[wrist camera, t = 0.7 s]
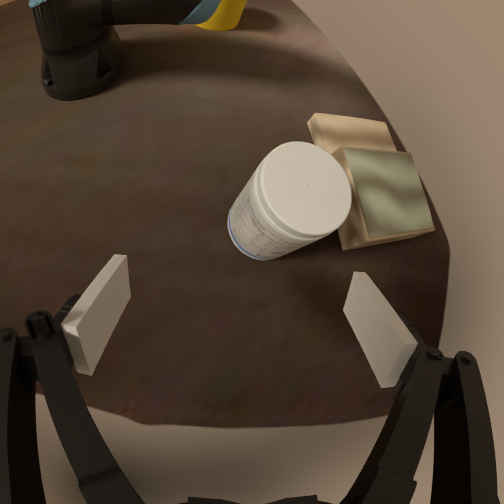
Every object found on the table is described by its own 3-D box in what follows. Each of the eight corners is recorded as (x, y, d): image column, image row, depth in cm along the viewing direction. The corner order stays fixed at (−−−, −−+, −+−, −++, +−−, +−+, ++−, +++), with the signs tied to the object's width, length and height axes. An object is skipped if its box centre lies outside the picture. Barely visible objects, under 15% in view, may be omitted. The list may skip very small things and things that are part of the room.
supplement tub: (264, 181, 41) (311, 124, 27) (306, 234, 41) (370, 199, 27) (210, 218, 38) (237, 167, 24) (255, 277, 38) (308, 258, 24)
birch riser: (307, 122, 45) (324, 101, 39) (376, 129, 50) (395, 113, 44) (342, 250, 42) (368, 241, 36) (410, 238, 47) (436, 229, 41)
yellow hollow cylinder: (199, 33, 44) (208, -4, 35) (185, 9, 44) (192, -24, 35) (245, 29, 47) (259, -5, 38) (228, 6, 48) (238, -25, 39)
